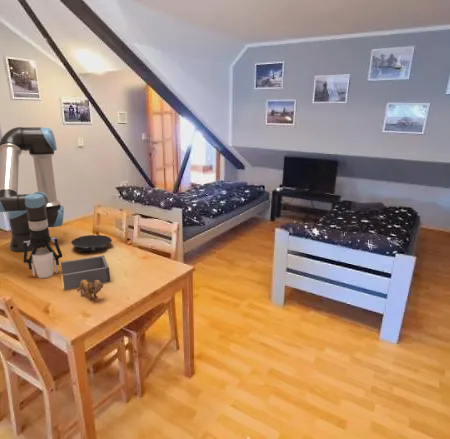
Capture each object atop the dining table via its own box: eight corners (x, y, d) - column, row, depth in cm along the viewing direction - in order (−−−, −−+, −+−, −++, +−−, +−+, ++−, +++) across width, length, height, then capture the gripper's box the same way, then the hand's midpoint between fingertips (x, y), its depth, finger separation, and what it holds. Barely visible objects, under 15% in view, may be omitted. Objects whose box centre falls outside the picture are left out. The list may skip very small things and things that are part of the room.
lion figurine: (106, 298, 142) (105, 279, 139) (97, 304, 137) (95, 284, 135) (81, 289, 148) (79, 270, 145) (71, 294, 143) (69, 275, 141)
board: (63, 248, 187) (62, 240, 186) (97, 239, 205) (96, 231, 203) (86, 259, 176) (86, 250, 174) (120, 248, 193) (120, 240, 192)
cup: (47, 280, 154) (44, 256, 150) (30, 278, 155) (26, 254, 151) (60, 271, 162) (57, 248, 158) (44, 269, 164) (40, 246, 160)
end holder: (61, 275, 158) (59, 262, 156) (105, 268, 167) (103, 255, 165) (62, 290, 146) (61, 275, 144) (110, 281, 155) (109, 267, 153)
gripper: (10, 234, 143) (18, 281, 150) (65, 227, 153) (70, 272, 160) (11, 228, 149) (19, 273, 157) (64, 222, 159) (69, 265, 166)
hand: (45, 273), depth 158 cm, fingers closed on cup, 9 cm apart
